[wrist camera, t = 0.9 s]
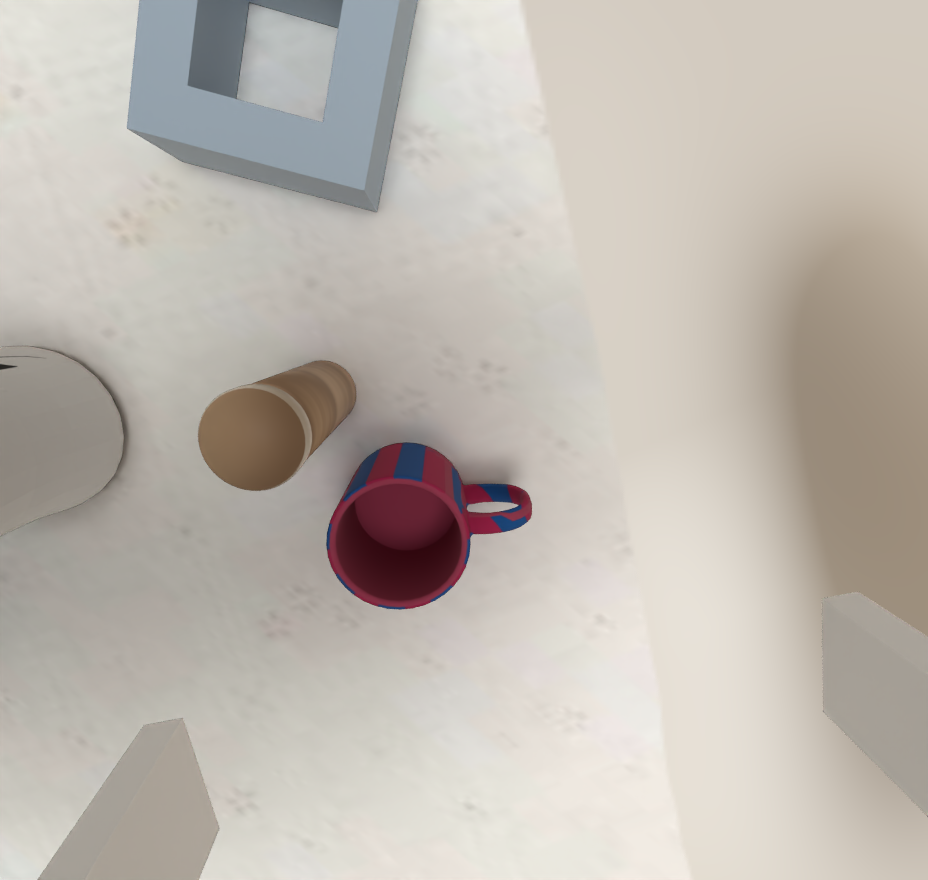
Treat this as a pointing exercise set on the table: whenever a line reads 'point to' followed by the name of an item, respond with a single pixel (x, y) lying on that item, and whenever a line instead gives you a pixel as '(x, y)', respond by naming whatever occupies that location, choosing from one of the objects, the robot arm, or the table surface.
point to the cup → (412, 526)
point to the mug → (52, 435)
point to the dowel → (274, 424)
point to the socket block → (264, 129)
